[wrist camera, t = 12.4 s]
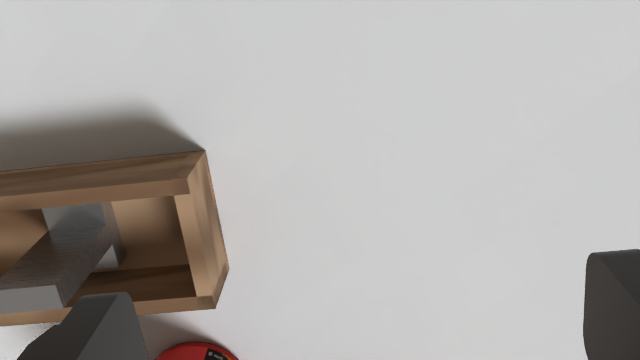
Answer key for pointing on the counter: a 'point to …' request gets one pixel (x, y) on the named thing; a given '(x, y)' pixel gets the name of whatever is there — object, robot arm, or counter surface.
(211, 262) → the open wooden box
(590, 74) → the counter surface
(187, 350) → the canned food
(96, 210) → the bracket
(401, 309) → the counter surface
